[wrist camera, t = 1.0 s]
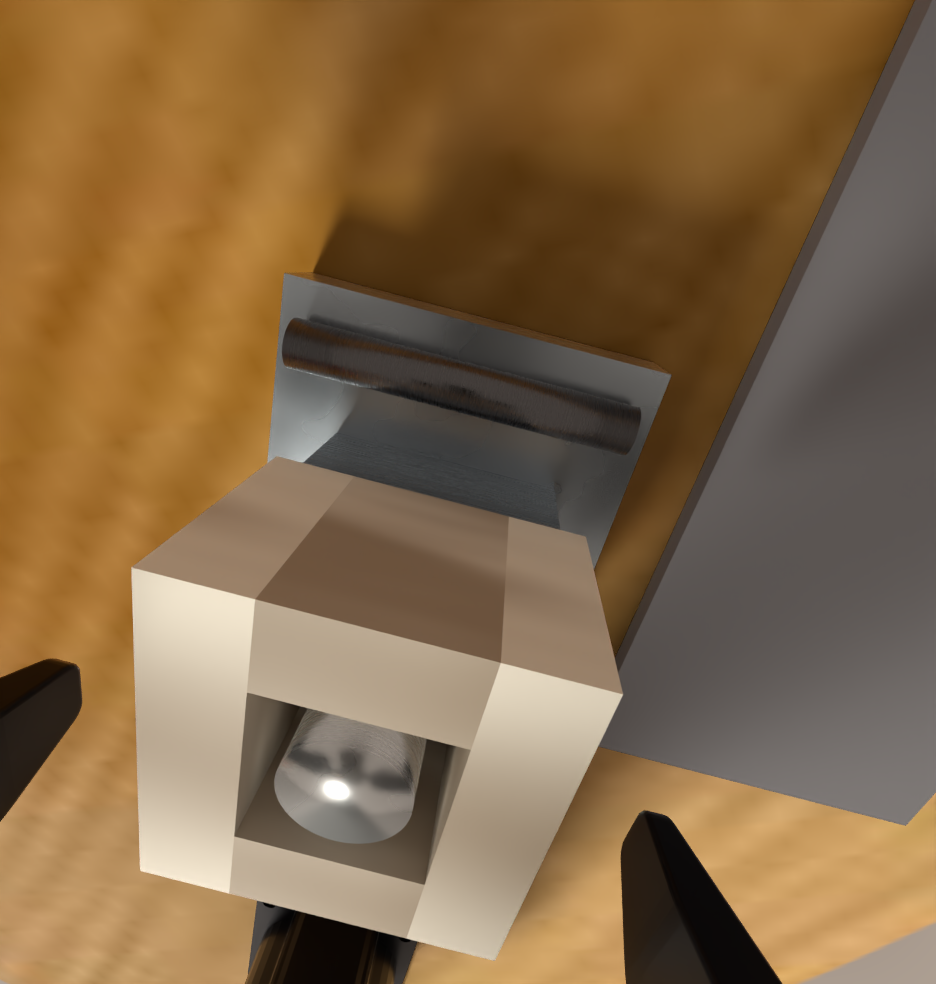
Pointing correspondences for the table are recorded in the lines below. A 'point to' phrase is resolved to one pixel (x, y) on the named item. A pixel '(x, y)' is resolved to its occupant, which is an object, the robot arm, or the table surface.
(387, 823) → the vise
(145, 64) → the table surface
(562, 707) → the collar
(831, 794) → the charcoal mat
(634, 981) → the robot arm
